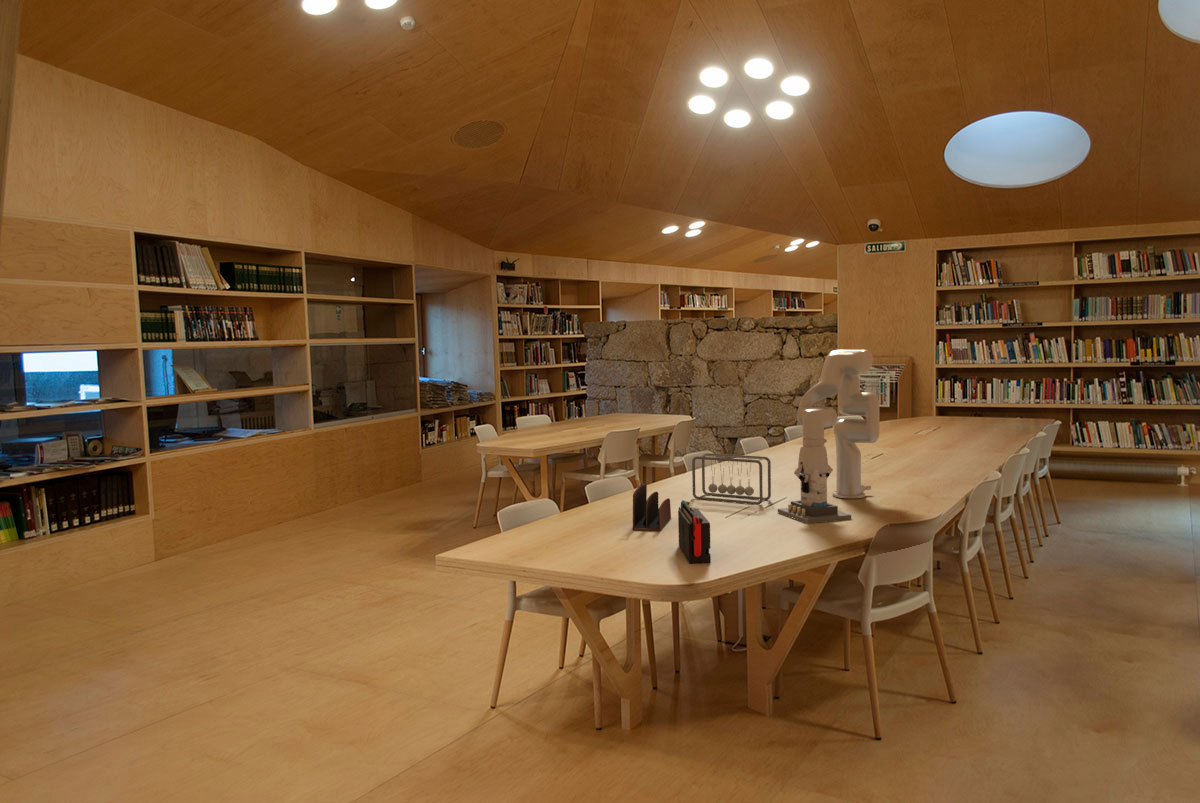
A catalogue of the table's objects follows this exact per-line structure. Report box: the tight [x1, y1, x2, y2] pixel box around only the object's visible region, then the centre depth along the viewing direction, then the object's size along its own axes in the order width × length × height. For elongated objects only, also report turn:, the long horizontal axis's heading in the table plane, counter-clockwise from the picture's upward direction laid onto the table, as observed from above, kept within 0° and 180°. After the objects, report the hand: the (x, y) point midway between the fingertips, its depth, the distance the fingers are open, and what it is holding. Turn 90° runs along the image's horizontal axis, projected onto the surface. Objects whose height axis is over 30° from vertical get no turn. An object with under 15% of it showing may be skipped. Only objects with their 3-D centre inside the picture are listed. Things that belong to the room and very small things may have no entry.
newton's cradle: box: [691, 452, 772, 505], centre depth 329 cm, size 30×10×18 cm, turn 58°
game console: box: [677, 499, 712, 565], centre depth 248 cm, size 28×6×15 cm, turn 3°
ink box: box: [800, 470, 828, 508], centre depth 296 cm, size 8×5×15 cm, turn 39°
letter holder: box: [632, 483, 672, 532], centre depth 289 cm, size 10×20×14 cm, turn 164°
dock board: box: [777, 499, 852, 524], centre depth 296 cm, size 18×20×4 cm
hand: (813, 491), depth 296 cm, fingers closed on ink box, 6 cm apart
